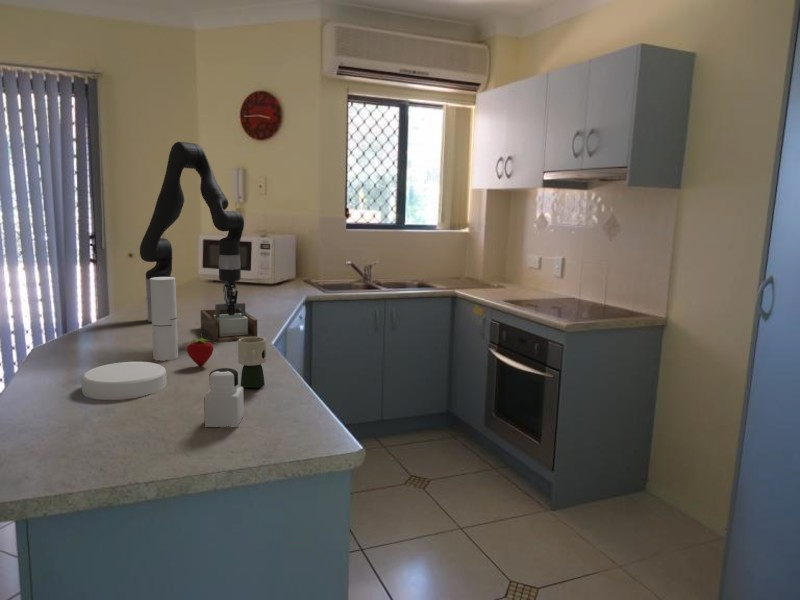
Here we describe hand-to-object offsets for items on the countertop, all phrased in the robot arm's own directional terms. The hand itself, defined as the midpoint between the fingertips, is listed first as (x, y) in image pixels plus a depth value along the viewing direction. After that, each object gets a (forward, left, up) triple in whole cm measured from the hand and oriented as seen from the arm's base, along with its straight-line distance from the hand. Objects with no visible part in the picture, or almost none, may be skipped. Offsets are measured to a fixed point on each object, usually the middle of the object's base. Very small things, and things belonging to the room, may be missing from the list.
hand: (230, 314), depth 208 cm
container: (-38, -48, -9) cm, 62 cm away
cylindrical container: (-25, -22, -8) cm, 35 cm away
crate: (0, 0, -7) cm, 7 cm away
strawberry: (-17, -36, -8) cm, 41 cm away
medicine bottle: (-20, -83, -8) cm, 86 cm away
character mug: (-8, -61, -8) cm, 62 cm away
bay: (0, +5, -8) cm, 9 cm away
